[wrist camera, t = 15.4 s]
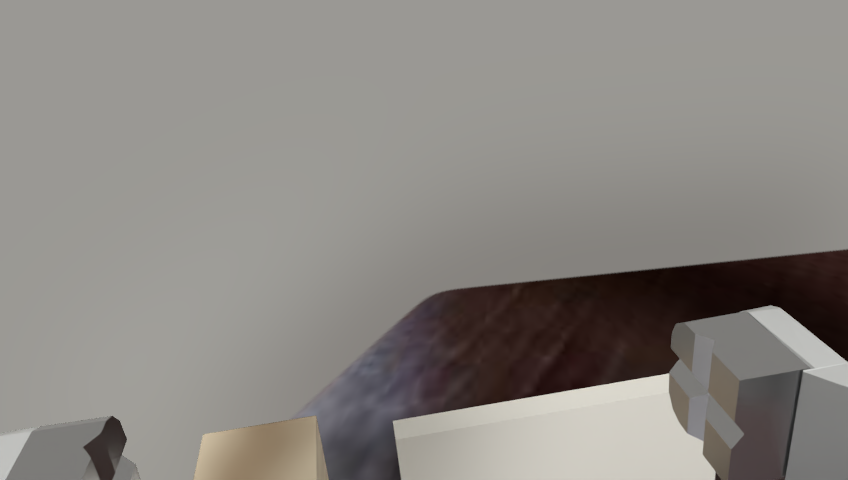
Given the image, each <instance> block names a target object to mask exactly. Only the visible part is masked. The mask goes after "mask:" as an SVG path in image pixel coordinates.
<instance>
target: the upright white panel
mask: <svg viewBox="0 0 848 480" xmlns="http://www.w3.org/2000/svg"><path fill="white" fill-rule="evenodd" d="M393 426H394V433H395V440H396V447H397V455H398V462H399V469H400V476H401V480H715V470H714V469H713V468H712V466H711V465H710V464H709V462H708V461H707V460H706V458H705V457H704V456H703V442H704V441H702V440H700V439H698V438H696V437H693V436H691V435H689V434H687V433H686V431H685V430H684V428H683V427H682V426H681V424H680V423H679V421H678V419H677V417H676V415H675V413H674V411H673V408H672V403H671V399H670V394H669V374H664V375H658V376H652V377H647V378H641V379H635V380H629V381H623V382H617V383H612V384H606V385H600V386H594V387H588V388H582V389H577V390H571V391H565V392H559V393H553V394H547V395H542V396H536V397H530V398H524V399H518V400H512V401H507V402H501V403H495V404H489V405H483V406H477V407H472V408H466V409H460V410H454V411H448V412H442V413H437V414H431V415H425V416H419V417H413V418H407V419H402V420H396V421H393Z"/></svg>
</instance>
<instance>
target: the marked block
mask: <svg viewBox="0 0 848 480" xmlns="http://www.w3.org/2000/svg"><path fill="white" fill-rule="evenodd" d="M193 480H329V478H328V473H327V468H326V463H325V458H324V453H323V448H322V443H321V438H320V433H319V428H318V422H317V417H316V416H310V417H304V418H298V419H292V420H286V421H281V422H275V423H269V424H262V425H256V426H250V427H244V428H238V429H232V430H226V431H220V432H214V433H208V434H203V437H202V442H201V447H200V451H199V456H198V461H197V465H196V470H195V475H194V479H193Z"/></svg>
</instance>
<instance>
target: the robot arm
mask: <svg viewBox="0 0 848 480" xmlns="http://www.w3.org/2000/svg"><path fill="white" fill-rule="evenodd" d="M671 348H672V350H673V351H674V352H675V353H676V354H677V356H678V357H679V358H680V359H679V360H678V361H677V363H676V364H675V365H674V367H673V368H672V369H671V371H670V372H669V394H670V399H671V403H672V408H673V411H674V413H675V415H676V417H677V419H678V421H679V423H680V424H681V426H682V427H683V428H684V430H685V431H686V433H687V434H689V435H691V436H693V437H696V438H698V439H700V440H702V441H704V442H703V456H704V457H705V458H706V460H707V461H708V462H709V464H710V465H711V466H712V468H713V469H714V470H715V472H716V473H717V474H718V475H719V477H720V478H721V479H722V480H773V479H780V478H785V480H848V362H847V361H846V360H844V359H843V358H842V357H841V356H839V355H838V354H837V353H836V352H834V351H833V350H832V349H831V348H830V347H828V346H827V345H826V344H825V343H823V342H822V341H821V340H820V339H818V338H817V337H816V336H815V335H813V334H812V333H811V332H810V331H808V330H807V329H806V328H805V327H803V326H802V325H801V324H800V323H798V322H797V321H796V320H795V319H794V318H792V317H791V316H790V315H789V314H787V313H786V312H785V311H784V310H782V309H781V308H779V307H775V306H771V305H770V306H765V307H760V308H755V309H750V310H745V311H740V312H739V313H734V314H728V315H722V316H717V317H711V318H706V319H700V320H695V321H689V322H683V323H678V324H676V325H675V327H674V330H673V332H672V340H671ZM126 440H127V439H126V436H125V433H124V431H123V428H122V426H121V423H120V421H119V420H118V419H116V418H114V417H113V416H110V417H103V418H96V419H88V420H81V421H75V422H68V423H61V424H54V425H47V426H40V427H39V428H36V427H34V428H27V429H21V430H15V431H10V432H3V433H1V434H0V480H140V477H139V473H138V471H137V467H136V465H135V464H134V463H133V462H131V461H130V460H128V459H127V458H125V457H124V456H122V452H123V449H124V446H125V443H126Z"/></svg>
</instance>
